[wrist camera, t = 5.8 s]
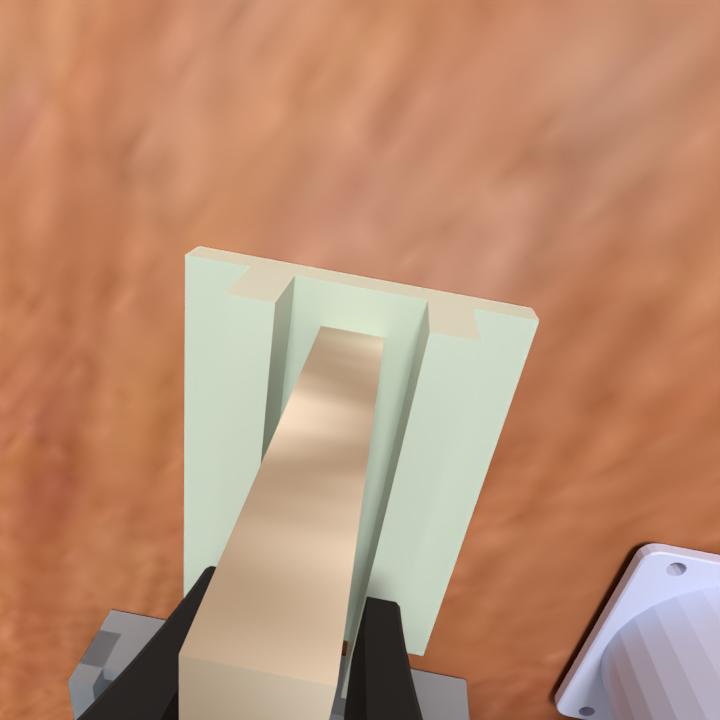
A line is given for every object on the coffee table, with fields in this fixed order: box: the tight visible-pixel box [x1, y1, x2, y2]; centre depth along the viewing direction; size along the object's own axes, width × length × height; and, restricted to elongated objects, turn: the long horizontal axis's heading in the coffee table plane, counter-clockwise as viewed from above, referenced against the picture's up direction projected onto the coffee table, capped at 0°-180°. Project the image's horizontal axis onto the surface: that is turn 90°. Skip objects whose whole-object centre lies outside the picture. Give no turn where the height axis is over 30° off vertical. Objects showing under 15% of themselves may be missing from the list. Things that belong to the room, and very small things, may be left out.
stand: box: [184, 246, 539, 698], centre depth 14 cm, size 8×12×3 cm, turn 171°
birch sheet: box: [179, 326, 384, 720], centre depth 11 cm, size 2×10×8 cm, turn 171°
